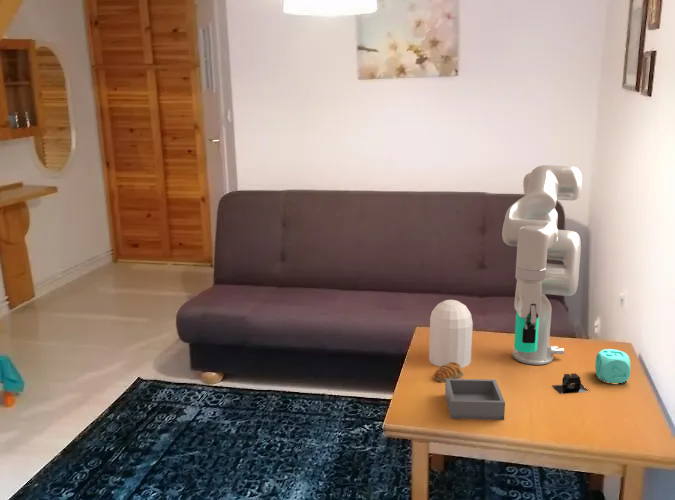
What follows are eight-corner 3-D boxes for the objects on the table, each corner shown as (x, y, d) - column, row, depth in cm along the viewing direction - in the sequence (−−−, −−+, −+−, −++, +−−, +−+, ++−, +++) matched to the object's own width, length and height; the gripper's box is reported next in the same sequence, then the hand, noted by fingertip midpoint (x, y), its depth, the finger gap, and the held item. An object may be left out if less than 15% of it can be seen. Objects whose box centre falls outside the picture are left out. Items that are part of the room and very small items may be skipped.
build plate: (585, 383, 198) (586, 369, 197) (597, 394, 191) (598, 379, 190) (545, 386, 197) (546, 372, 195) (556, 397, 189) (557, 382, 188)
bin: (494, 395, 189) (495, 379, 188) (504, 419, 176) (505, 402, 175) (445, 394, 190) (445, 378, 189) (450, 418, 177) (451, 401, 175)
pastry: (445, 385, 196) (446, 374, 195) (428, 378, 201) (428, 367, 200) (464, 376, 202) (465, 364, 202) (447, 369, 207) (447, 358, 206)
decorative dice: (629, 385, 196) (632, 360, 194) (600, 383, 197) (603, 358, 195) (621, 373, 203) (623, 349, 201) (594, 372, 204) (596, 348, 202)
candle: (510, 344, 181) (513, 302, 178) (532, 343, 182) (535, 301, 178) (518, 353, 175) (521, 310, 172) (540, 352, 176) (543, 309, 173)
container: (426, 366, 209) (428, 306, 205) (430, 350, 222) (432, 293, 217) (469, 370, 206) (472, 309, 201) (471, 353, 219) (474, 295, 214)
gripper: (509, 264, 181) (505, 326, 186) (523, 283, 165) (518, 351, 170) (537, 264, 181) (533, 327, 186) (553, 283, 165) (548, 351, 169)
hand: (526, 337), depth 178 cm, fingers closed on candle, 4 cm apart
